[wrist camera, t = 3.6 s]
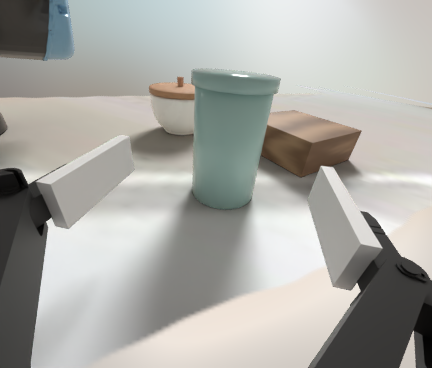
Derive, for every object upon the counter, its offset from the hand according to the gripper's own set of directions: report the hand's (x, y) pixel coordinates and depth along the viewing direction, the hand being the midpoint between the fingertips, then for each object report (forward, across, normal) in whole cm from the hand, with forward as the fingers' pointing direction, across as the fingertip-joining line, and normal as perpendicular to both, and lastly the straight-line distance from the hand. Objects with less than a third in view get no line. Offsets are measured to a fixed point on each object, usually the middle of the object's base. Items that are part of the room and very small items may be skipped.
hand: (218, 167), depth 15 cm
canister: (+8, 0, -7) cm, 10 cm away
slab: (+23, +10, -7) cm, 26 cm away
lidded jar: (+26, -12, -7) cm, 29 cm away
